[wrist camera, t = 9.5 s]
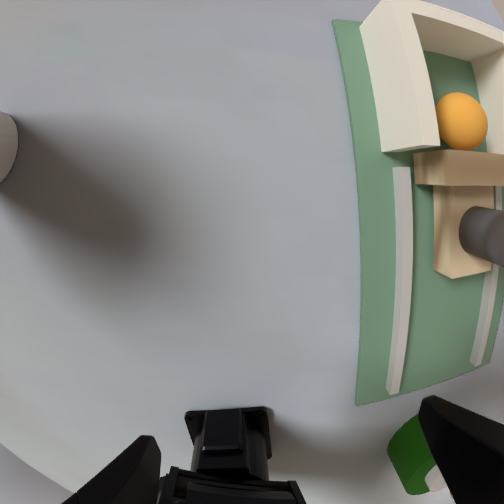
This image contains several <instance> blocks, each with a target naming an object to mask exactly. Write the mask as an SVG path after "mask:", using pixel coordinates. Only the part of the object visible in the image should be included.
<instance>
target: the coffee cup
mask: <svg viewBox="0 0 504 504" xmlns="http://www.w3.org/2000/svg"><path fill="white" fill-rule="evenodd" d="M17 149H18V130H17V127H16V124H15V122H14V120H13V119H12V117H11V116H9V115H8V114H6V113H3V112H1V111H0V182H1V181H2V180H3V179H4V178H5V177H6V176H7V175H8V173H9V172H10V170H11V168H12V166H13V164H14V161H15V158H16V154H17Z"/></svg>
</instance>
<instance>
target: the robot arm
mask: <svg viewBox="0 0 504 504" xmlns="http://www.w3.org/2000/svg"><path fill="white" fill-rule="evenodd" d="M259 412H262V413H261V414H260V413H259ZM190 417H193V418H190ZM418 420H419V423H420V426H421V428H422V431H423V434H424V436H425V439H426V442H427V444H428V447H429V450H430V452H431V454H432V456H433V458H434V460H435V462H436V464H437V466H438V468H439V470H440V472H441V474H442V476H443V478H444V480H445V482H446V484H447V486H448V488H449V490H450V492H451V494H452V496H453V499H454V501H455V503H456V504H504V425H503V424H501V423H498V422H496V421H493V420H491V419H488V418H486V417H484V416H481V415H479V414H476V413H474V412H472V411H469V410H467V409H465V408H462V407H460V406H458V405H455V404H453V403H451V402H449V401H446V400H444V399H442V398H440V397H437V396H435V395H431V396H428V397H425V398H423V400H422V402H421V406H420V410H419V413H418ZM185 422H186V425H187V428H188V431H189V434H190V437H191V439H192V442H193V445H194V450H193V457H192V463H191V470H190V471H188V470H183V469H179V467H174V466H171V469H170V472H169V474H167V473H166V476H164V477H160V465H161V452H160V449H159V447H158V445H157V443H156V440H155V438H154V437H153V436H150V435H141V436H140V437H138V438H137V439H136V440H135V441H134V442H133V443H132V444H131V445H130V446H129V447H127V448H126V449H125V450H124V451H123V452H122V453H121V454H120V455H119V456H117V457H116V458H115V459H114V460H113V461H112V462H111V463H109V464H108V465H107V466H106V467H105V468H104V469H103V470H101V471H100V472H99V473H98V474H97V475H96V476H94V477H93V478H92V479H91V480H90V481H89V482H87V483H86V484H85V485H84V486H83V487H82V488H80V489H79V490H78V491H77V493H74V494H73V495H72V496H71V497H69V498H68V499H67V500H65V501H64V502H63V503H62V504H306V502H305V500H304V497H303V495H302V493H301V491H300V489H299V487H298V484H297V482H296V481H287V482H283V481H269V475H268V465H267V459H270V458H271V457H272V452H271V443H270V434H269V425H268V417H267V410H266V408H264V407H252V408H241V409H227V410H209V411H188V412H186V413H185ZM159 479H160V480H159Z"/></svg>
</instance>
